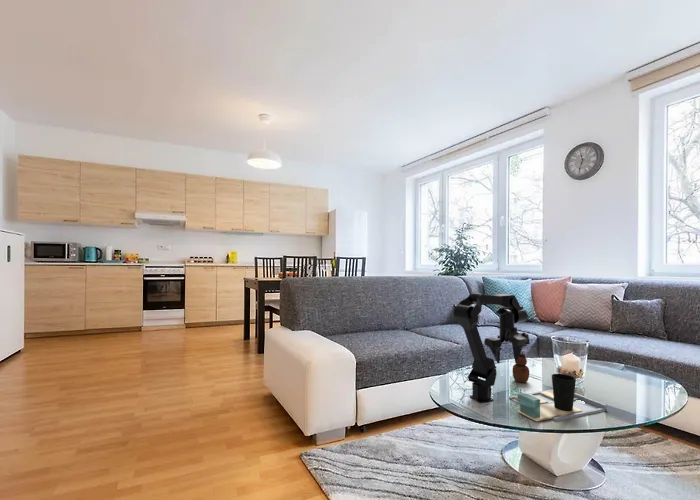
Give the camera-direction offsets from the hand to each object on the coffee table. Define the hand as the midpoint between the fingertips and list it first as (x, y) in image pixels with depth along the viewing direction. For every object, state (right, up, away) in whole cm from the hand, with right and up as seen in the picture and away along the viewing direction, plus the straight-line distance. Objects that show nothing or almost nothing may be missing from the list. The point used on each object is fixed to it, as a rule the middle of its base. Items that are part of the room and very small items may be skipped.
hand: (507, 361), depth 153 cm
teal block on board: (+6, -11, -22) cm, 25 cm away
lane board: (+13, -12, -14) cm, 22 cm away
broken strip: (+11, -12, -9) cm, 18 cm away
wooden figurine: (+11, -13, +11) cm, 20 cm away
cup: (+12, -12, -20) cm, 26 cm away
